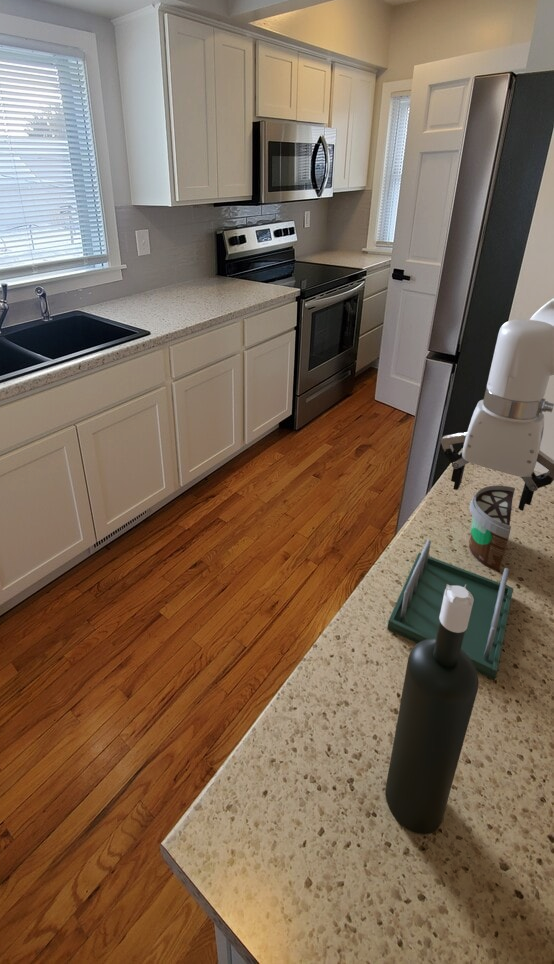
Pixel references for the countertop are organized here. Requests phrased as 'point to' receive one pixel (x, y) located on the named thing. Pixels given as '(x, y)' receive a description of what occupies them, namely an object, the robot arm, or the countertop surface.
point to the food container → (491, 524)
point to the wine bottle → (432, 719)
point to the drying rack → (424, 603)
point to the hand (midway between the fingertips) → (488, 495)
